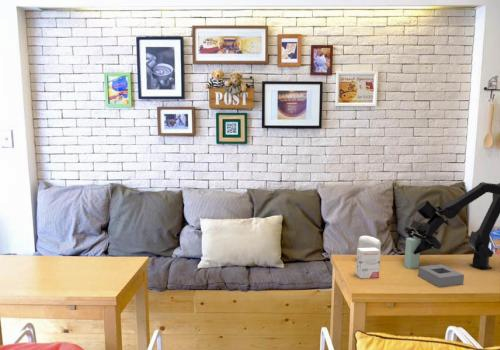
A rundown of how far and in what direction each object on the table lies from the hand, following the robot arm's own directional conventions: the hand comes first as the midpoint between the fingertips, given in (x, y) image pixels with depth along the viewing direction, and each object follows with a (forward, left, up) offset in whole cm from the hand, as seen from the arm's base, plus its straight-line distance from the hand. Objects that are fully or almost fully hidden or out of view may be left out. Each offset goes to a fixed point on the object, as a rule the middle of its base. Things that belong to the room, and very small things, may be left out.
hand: (409, 251), depth 182 cm
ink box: (+25, +2, -7) cm, 26 cm away
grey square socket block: (-1, +16, -7) cm, 18 cm away
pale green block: (-1, 0, -7) cm, 7 cm away
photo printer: (+14, -11, -7) cm, 19 cm away
